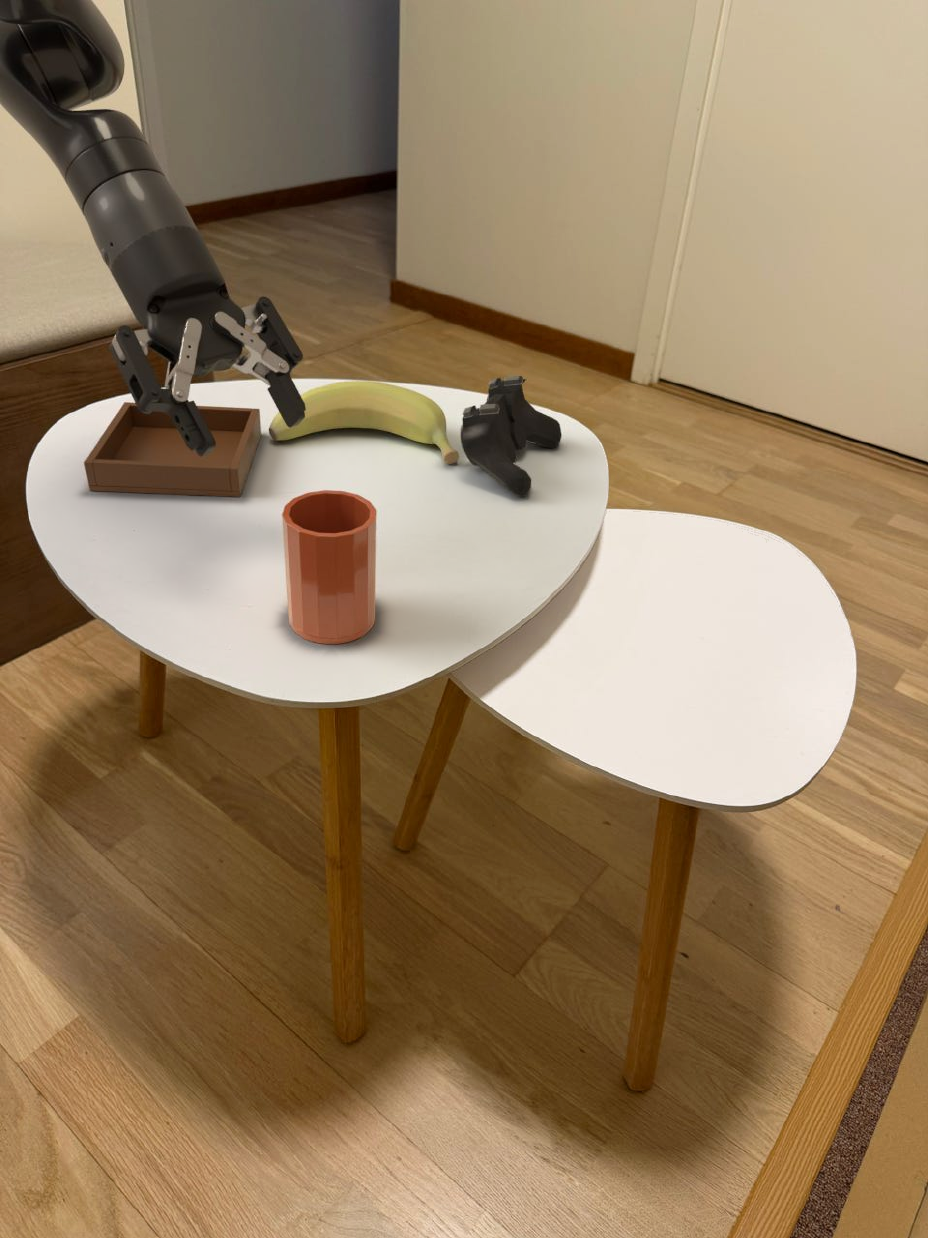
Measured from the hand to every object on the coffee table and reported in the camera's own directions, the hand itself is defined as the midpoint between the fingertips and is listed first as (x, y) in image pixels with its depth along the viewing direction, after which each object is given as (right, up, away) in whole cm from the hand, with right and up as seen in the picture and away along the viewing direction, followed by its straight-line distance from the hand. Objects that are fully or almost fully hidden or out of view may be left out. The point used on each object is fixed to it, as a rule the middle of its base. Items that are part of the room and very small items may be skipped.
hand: (255, 436), depth 70 cm
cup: (+6, -14, +3) cm, 16 cm away
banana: (+6, +5, +30) cm, 31 cm away
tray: (-13, +2, +24) cm, 27 cm away
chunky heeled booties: (+21, +3, +29) cm, 36 cm away
